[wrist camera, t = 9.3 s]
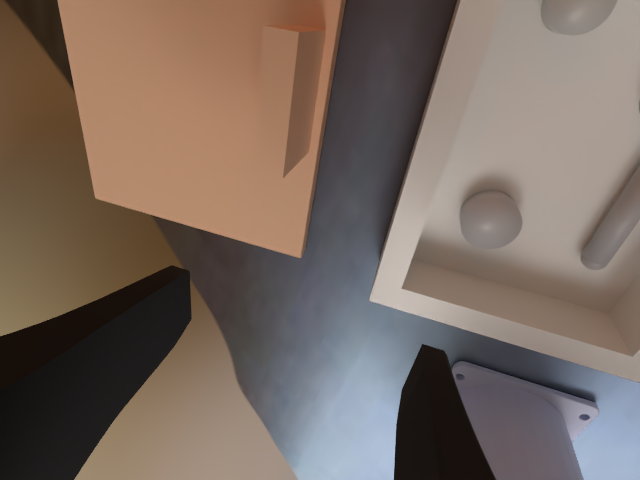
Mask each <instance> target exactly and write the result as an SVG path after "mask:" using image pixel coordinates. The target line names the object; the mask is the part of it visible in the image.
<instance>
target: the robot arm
mask: <svg viewBox="0 0 640 480" xmlns="http://www.w3.org/2000/svg"><path fill="white" fill-rule="evenodd" d="M190 321H191V296H190V272H189V271H188V270H185V269H181V268H178V267H175V266H169V267H167V268H165V269H162V270H160V271H158V272H156V273H154V274H152V275H150V276H147V277H145V278H143V279H141V280H139V281H137V282H135V283H133V284H131V285H129V286H126V287H124V288H122V289H120V290H118V291H116V292H113V293H111V294H109V295H107V296H105V297H103V298H101V299H98V300H96V301H93V302H91V303H89V304H87V305H84V306H82V307H79V308H77V309H74V310H72V311H70V312H67V313H65V314H63V315H60V316H58V317H55V318H52V319H50V320H47V321H44V322H42V323H39V324H36V325H33V326H30V327H27V328H24V329H22V330H19V331H16V332H13V333H10V334H7V335H3V336H0V480H74V479H75V477H76V476H77V474H78V473H79V471H80V470H81V468H82V466H83V465H84V464H85V462H86V461H87V459H88V457H89V456H90V454H91V453H92V451H93V450H94V448H95V447H96V446H97V444H98V443H99V441H100V439H101V438H102V437H103V435H104V434H105V432H106V431H107V430H108V428H109V427H110V425H111V424H112V422H113V421H114V420H115V418H116V417H117V416H118V414H119V413H120V412H121V411H122V409H123V408H124V407H125V405H126V404H127V403H128V402H129V401H130V399H131V398H132V397H133V396H134V395H135V393H136V392H137V391H138V390H139V389H140V388H141V386H142V385H143V384H144V383H145V381H146V380H147V379H148V378H149V376H150V375H151V374H152V373H153V372H154V370H155V369H156V368H157V367H158V366H159V364H160V363H161V362H162V361H163V360H164V358H165V357H166V356H167V355H168V353H169V352H170V351H171V350H172V348H173V347H174V346H175V344H176V343H177V341H178V340H179V338H180V337H181V335H182V334H183V332H184V330H185V329H186V327H187V325H188V324H189V322H190ZM457 374H462V375H457ZM598 414H599V408H598V406H597V405H596V403H594V402H592V401H588V400H585V399H582V398H579V397H576V396H573V395H569V394H566V393H563V392H560V391H557V390H554V389H550V388H547V387H544V386H541V385H538V384H535V383H531V382H528V381H525V380H522V379H519V378H516V377H512V376H509V375H506V374H503V373H500V372H497V371H493V370H490V369H487V368H484V367H481V366H478V365H474V364H471V363H468V362H464V361H459V362H457V363H455V365H454V366H453V368H452V370H451V367H450V364H449V361H448V358H447V355H446V353H445V351H443V350H440V349H436V348H433V347H430V346H427V345H424V344H422V346H421V348H420V350H419V353H418V355H417V357H416V359H415V362H414V364H413V366H412V368H411V371H410V373H409V375H408V377H407V380H406V382H405V384H404V386H403V389H402V393H401V399H400V406H399V412H398V419H397V427H396V446H395V468H394V480H584V479H583V476H582V473H581V470H580V467H579V464H578V460H577V457H576V454H575V451H574V448H573V445H572V441H573V440H574V439H575V438H576V437H577V436H578V435H579V434H580V433H581V432H582V431H583V430H584V429H585V428H586V427H587V426H588V425H589V424H590V423H591V422H592V421H593V420H594V418H595V417H596V416H597V415H598Z"/></svg>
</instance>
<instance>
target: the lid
mask: <svg viewBox="0 0 640 480" xmlns="http://www.w3.org/2000/svg"><path fill="white" fill-rule="evenodd" d="M345 3H346V0H58V5H59V10H60V15H61V21H62V26H63V31H64V36H65V41H66V47H67V52H68V57H69V62H70V68H71V73H72V78H73V83H74V89H75V94H76V99H77V104H78V110H79V115H80V120H81V125H82V130H83V136H84V141H85V146H86V151H87V157H88V162H89V167H90V172H91V177H92V183H93V188H94V193H95V198H96V199H99V200H103V201H106V202H110V203H113V204H117V205H120V206H123V207H127V208H130V209H134V210H137V211H140V212H144V213H147V214H151V215H154V216H157V217H161V218H164V219H168V220H171V221H175V222H178V223H181V224H185V225H188V226H192V227H195V228H199V229H202V230H205V231H209V232H212V233H216V234H219V235H222V236H226V237H229V238H233V239H236V240H240V241H243V242H246V243H250V244H253V245H257V246H260V247H264V248H267V249H270V250H274V251H277V252H281V253H284V254H288V255H291V256H294V257H298V258H301V257H302V255H303V253H304V252H305V248H306V242H307V235H308V229H309V223H310V217H311V211H312V205H313V199H314V193H315V186H316V180H317V174H318V168H319V162H320V156H321V150H322V144H323V137H324V131H325V125H326V119H327V113H328V107H329V101H330V95H331V88H332V82H333V76H334V70H335V64H336V58H337V52H338V46H339V39H340V33H341V27H342V21H343V15H344V9H345Z"/></svg>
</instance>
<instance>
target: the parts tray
mask: <svg viewBox="0 0 640 480" xmlns="http://www.w3.org/2000/svg"><path fill="white" fill-rule="evenodd" d="M369 301H372V302H375V303H378V304H382V305H385V306H388V307H391V308H395V309H398V310H401V311H405V312H408V313H411V314H415V315H418V316H421V317H424V318H428V319H431V320H434V321H438V322H441V323H444V324H448V325H451V326H454V327H457V328H461V329H464V330H467V331H471V332H474V333H477V334H480V335H484V336H487V337H490V338H494V339H497V340H500V341H504V342H507V343H510V344H513V345H517V346H520V347H523V348H527V349H530V350H533V351H536V352H540V353H543V354H546V355H550V356H553V357H556V358H560V359H563V360H566V361H569V362H573V363H576V364H579V365H583V366H586V367H589V368H593V369H596V370H599V371H602V372H606V373H609V374H612V375H616V376H619V377H622V378H625V379H629V380H632V381H635V382H639V383H640V0H457V3H456V6H455V10H454V13H453V16H452V20H451V23H450V26H449V30H448V33H447V36H446V40H445V43H444V46H443V50H442V53H441V56H440V60H439V63H438V66H437V70H436V73H435V76H434V80H433V83H432V86H431V90H430V93H429V96H428V100H427V103H426V106H425V109H424V113H423V116H422V119H421V123H420V126H419V129H418V133H417V136H416V139H415V143H414V146H413V149H412V153H411V156H410V159H409V163H408V166H407V169H406V173H405V176H404V179H403V183H402V186H401V189H400V193H399V196H398V199H397V203H396V206H395V209H394V212H393V216H392V219H391V222H390V226H389V229H388V232H387V236H386V239H385V242H384V246H383V249H382V252H381V256H380V259H379V263H378V267H377V271H376V275H375V279H374V283H373V287H372V291H371V295H370V299H369Z"/></svg>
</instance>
